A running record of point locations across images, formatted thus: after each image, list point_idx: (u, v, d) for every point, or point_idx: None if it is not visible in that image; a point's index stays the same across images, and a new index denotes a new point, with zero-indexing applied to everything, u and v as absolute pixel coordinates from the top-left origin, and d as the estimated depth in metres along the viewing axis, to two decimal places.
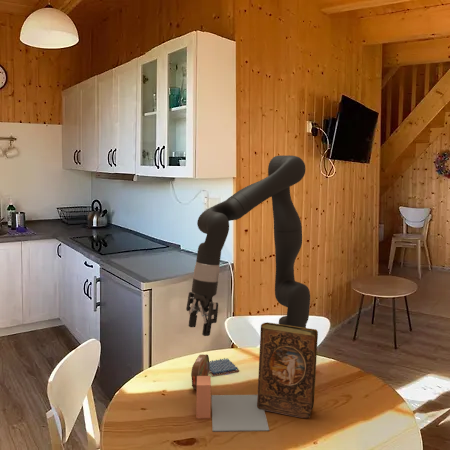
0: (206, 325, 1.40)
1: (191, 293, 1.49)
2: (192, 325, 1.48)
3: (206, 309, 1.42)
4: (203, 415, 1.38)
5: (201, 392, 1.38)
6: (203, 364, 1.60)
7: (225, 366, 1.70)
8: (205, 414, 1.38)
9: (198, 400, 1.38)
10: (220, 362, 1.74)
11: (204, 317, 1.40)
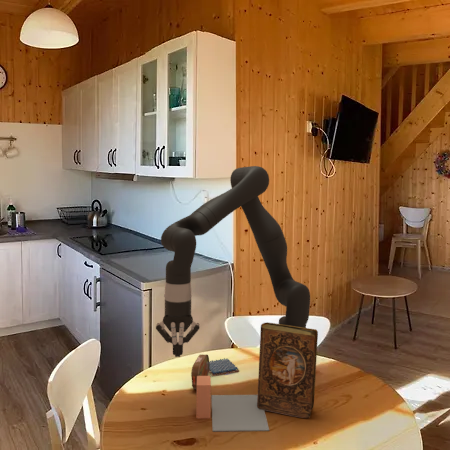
0: (181, 345, 1.38)
1: (158, 325, 1.37)
2: None
3: None
4: (203, 415, 1.38)
5: (201, 392, 1.38)
6: (203, 364, 1.60)
7: (225, 366, 1.70)
8: (205, 414, 1.38)
9: (198, 400, 1.38)
10: (220, 362, 1.74)
11: (181, 338, 1.37)
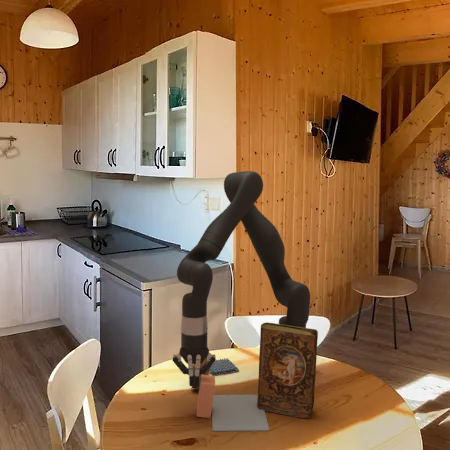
0: (197, 377, 1.39)
1: (175, 357, 1.38)
2: None
3: None
4: (203, 414, 1.38)
5: (205, 391, 1.38)
6: (203, 364, 1.60)
7: (225, 366, 1.70)
8: (206, 413, 1.38)
9: (201, 399, 1.38)
10: (220, 362, 1.74)
11: (197, 370, 1.39)
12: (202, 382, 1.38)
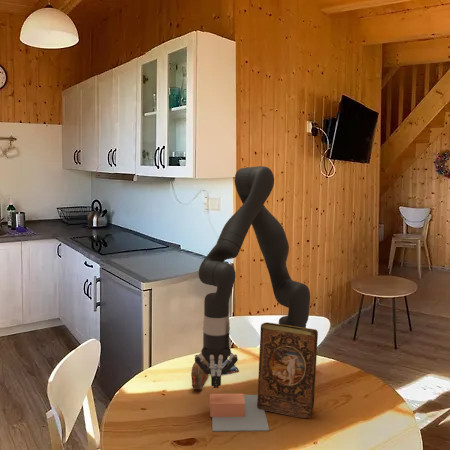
0: (219, 377, 1.40)
1: (197, 357, 1.38)
2: None
3: None
4: (212, 410, 1.38)
5: (237, 408, 1.39)
6: None
7: None
8: (214, 412, 1.38)
9: (229, 405, 1.38)
10: None
11: (219, 370, 1.39)
12: (244, 403, 1.39)
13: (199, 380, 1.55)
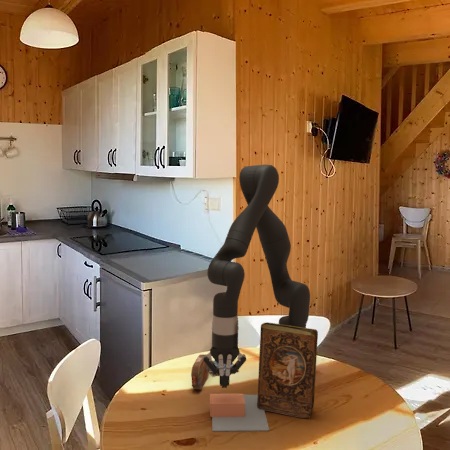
0: (228, 377, 1.40)
1: (205, 357, 1.38)
2: (224, 385, 1.41)
3: None
4: (212, 410, 1.38)
5: (237, 408, 1.39)
6: (203, 364, 1.60)
7: (225, 366, 1.70)
8: (214, 412, 1.38)
9: (229, 405, 1.38)
10: None
11: (228, 370, 1.39)
12: (244, 403, 1.39)
13: (199, 380, 1.55)
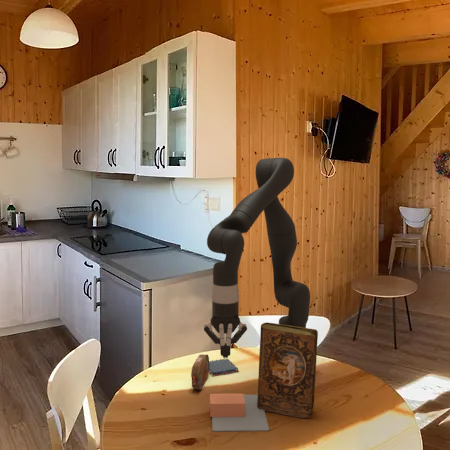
0: (229, 346, 1.38)
1: (206, 327, 1.37)
2: (225, 355, 1.39)
3: None
4: (212, 410, 1.38)
5: (237, 408, 1.39)
6: (203, 364, 1.60)
7: (225, 366, 1.70)
8: (214, 412, 1.38)
9: (229, 405, 1.38)
10: (220, 362, 1.74)
11: (229, 339, 1.38)
12: (244, 403, 1.39)
13: (199, 380, 1.55)
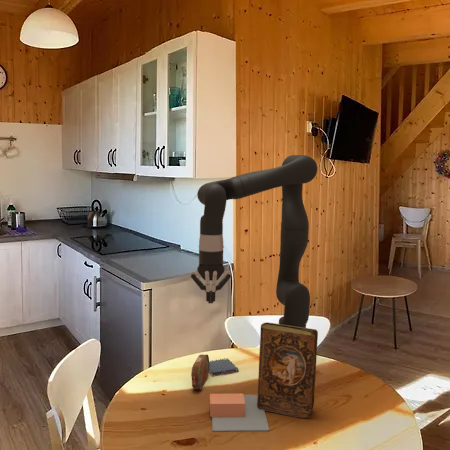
0: (214, 293, 1.50)
1: (193, 274, 1.49)
2: None
3: None
4: (212, 410, 1.38)
5: (237, 408, 1.39)
6: (203, 364, 1.60)
7: (225, 366, 1.70)
8: (214, 412, 1.38)
9: (229, 405, 1.38)
10: (220, 362, 1.74)
11: (214, 286, 1.50)
12: (244, 403, 1.39)
13: (199, 380, 1.55)
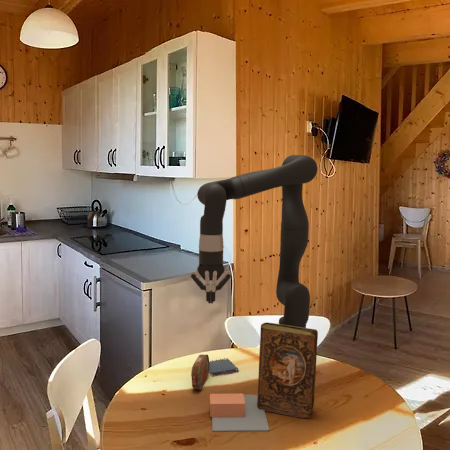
0: (214, 293, 1.50)
1: (193, 274, 1.49)
2: None
3: None
4: (212, 410, 1.38)
5: (237, 408, 1.39)
6: (203, 364, 1.60)
7: (225, 366, 1.70)
8: (214, 412, 1.38)
9: (229, 405, 1.38)
10: (220, 362, 1.74)
11: (214, 286, 1.50)
12: (244, 403, 1.39)
13: (199, 380, 1.55)
